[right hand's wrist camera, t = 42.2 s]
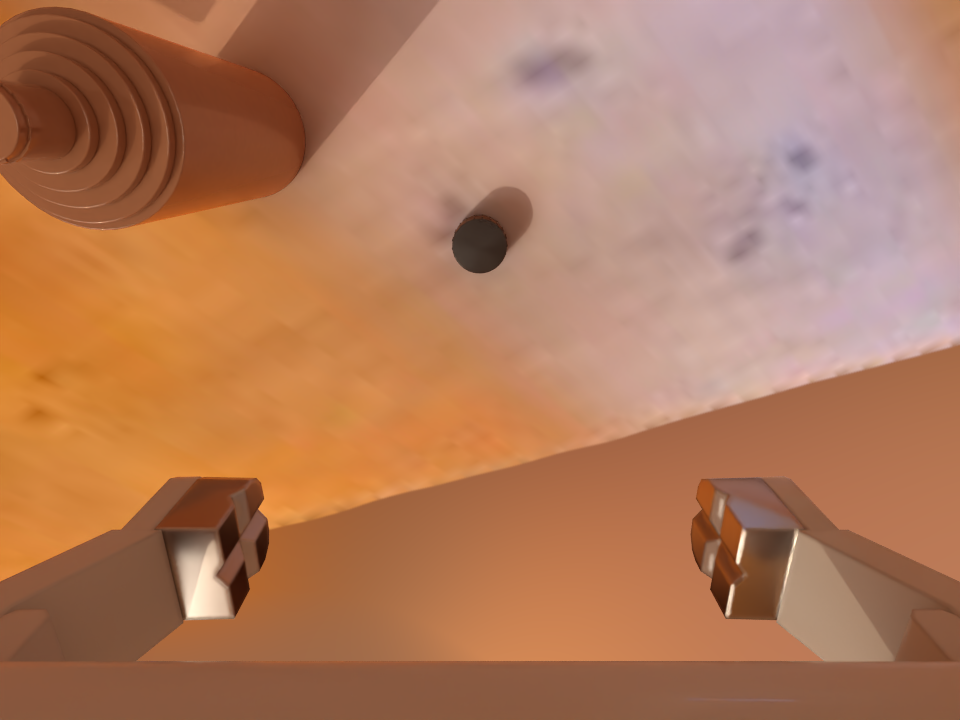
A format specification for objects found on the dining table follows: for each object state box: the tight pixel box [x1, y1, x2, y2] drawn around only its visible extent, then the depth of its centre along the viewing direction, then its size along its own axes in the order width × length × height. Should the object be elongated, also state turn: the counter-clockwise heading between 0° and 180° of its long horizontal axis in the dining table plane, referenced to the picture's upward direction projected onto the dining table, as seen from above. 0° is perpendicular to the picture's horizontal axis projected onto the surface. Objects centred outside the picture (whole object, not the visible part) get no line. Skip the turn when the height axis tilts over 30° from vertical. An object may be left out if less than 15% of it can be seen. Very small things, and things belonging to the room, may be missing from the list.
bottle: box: [0, 7, 305, 230], centre depth 28 cm, size 8×8×22 cm
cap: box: [452, 215, 507, 273], centre depth 40 cm, size 4×4×2 cm
